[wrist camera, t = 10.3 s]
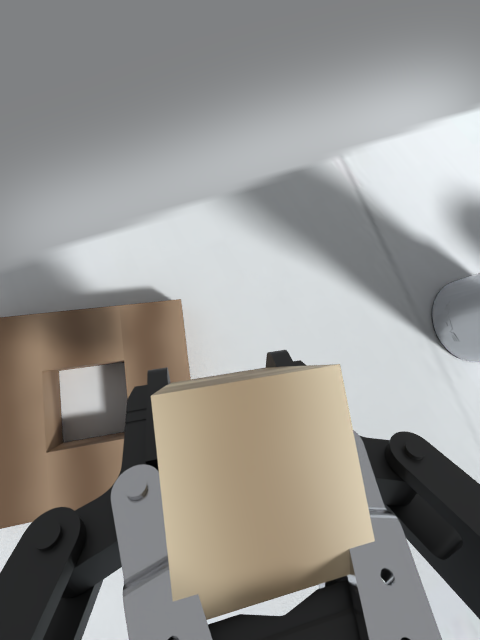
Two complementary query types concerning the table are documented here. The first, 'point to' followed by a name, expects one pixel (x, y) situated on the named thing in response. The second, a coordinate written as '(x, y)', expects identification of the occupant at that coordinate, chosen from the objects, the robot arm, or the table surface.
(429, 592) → the table surface
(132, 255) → the table surface
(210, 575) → the oak peg
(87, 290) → the table surface
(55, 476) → the walnut board
